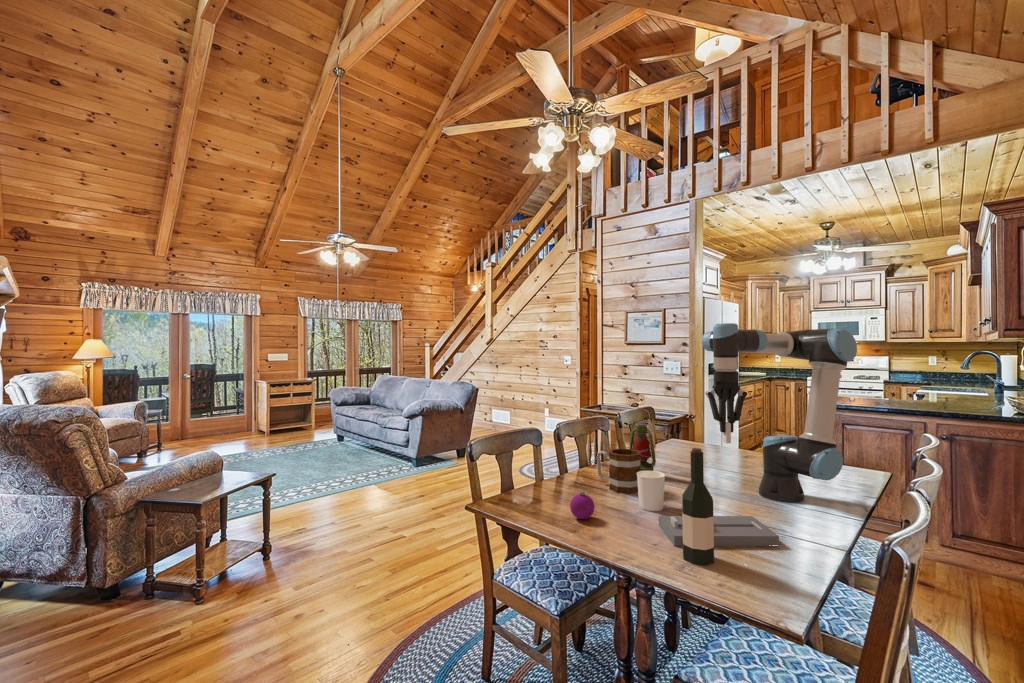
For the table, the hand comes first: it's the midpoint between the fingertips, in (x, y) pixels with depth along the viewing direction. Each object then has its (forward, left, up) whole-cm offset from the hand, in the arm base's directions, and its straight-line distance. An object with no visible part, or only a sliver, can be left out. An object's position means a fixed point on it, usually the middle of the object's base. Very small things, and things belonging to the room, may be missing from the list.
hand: (726, 442), depth 155 cm
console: (+8, +10, -26) cm, 29 cm away
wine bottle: (+19, +26, -27) cm, 42 cm away
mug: (+28, -39, -27) cm, 55 cm away
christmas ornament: (+47, -4, -27) cm, 54 cm away
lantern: (+14, -57, -27) cm, 64 cm away
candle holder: (+21, -15, -27) cm, 37 cm away
